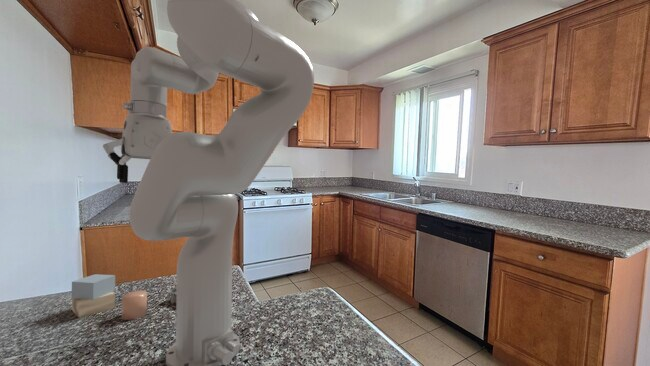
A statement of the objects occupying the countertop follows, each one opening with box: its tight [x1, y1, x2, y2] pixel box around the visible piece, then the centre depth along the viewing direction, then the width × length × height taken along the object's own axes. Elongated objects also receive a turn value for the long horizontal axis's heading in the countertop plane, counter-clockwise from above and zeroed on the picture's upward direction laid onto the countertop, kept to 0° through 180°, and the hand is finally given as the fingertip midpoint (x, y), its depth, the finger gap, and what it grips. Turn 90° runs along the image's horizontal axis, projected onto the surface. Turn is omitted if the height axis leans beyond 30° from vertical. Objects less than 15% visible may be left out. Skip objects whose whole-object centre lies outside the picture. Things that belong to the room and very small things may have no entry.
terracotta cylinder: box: [121, 290, 148, 321], centre depth 67 cm, size 5×5×5 cm
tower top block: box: [71, 273, 116, 300], centre depth 71 cm, size 6×6×4 cm
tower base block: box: [71, 291, 116, 319], centre depth 71 cm, size 7×7×4 cm
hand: (146, 182), depth 68 cm, fingers open, 9 cm apart
